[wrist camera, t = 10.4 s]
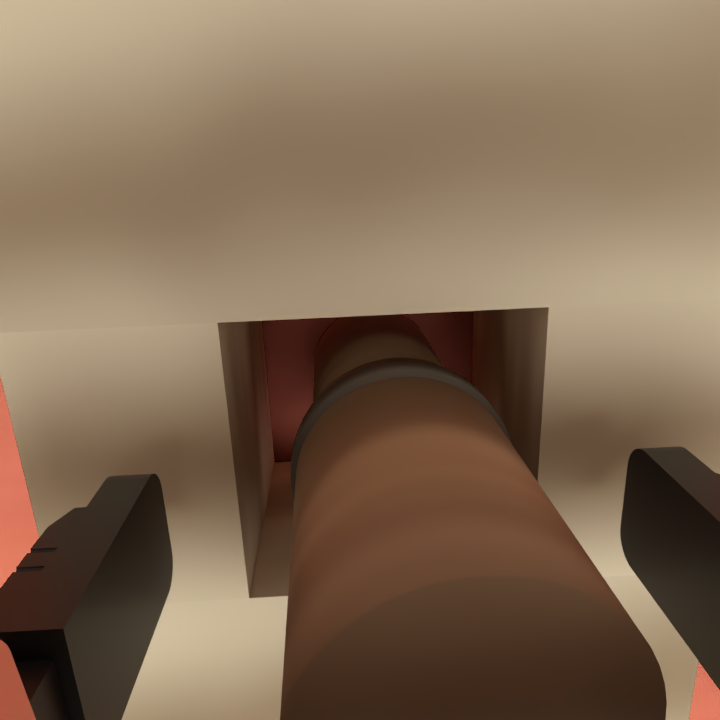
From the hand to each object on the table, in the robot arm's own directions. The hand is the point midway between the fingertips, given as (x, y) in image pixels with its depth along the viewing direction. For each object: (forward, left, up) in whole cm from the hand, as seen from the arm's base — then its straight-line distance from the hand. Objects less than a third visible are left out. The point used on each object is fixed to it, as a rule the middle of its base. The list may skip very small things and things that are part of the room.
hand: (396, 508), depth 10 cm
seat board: (0, 0, -8) cm, 8 cm away
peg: (0, 0, -8) cm, 8 cm away
